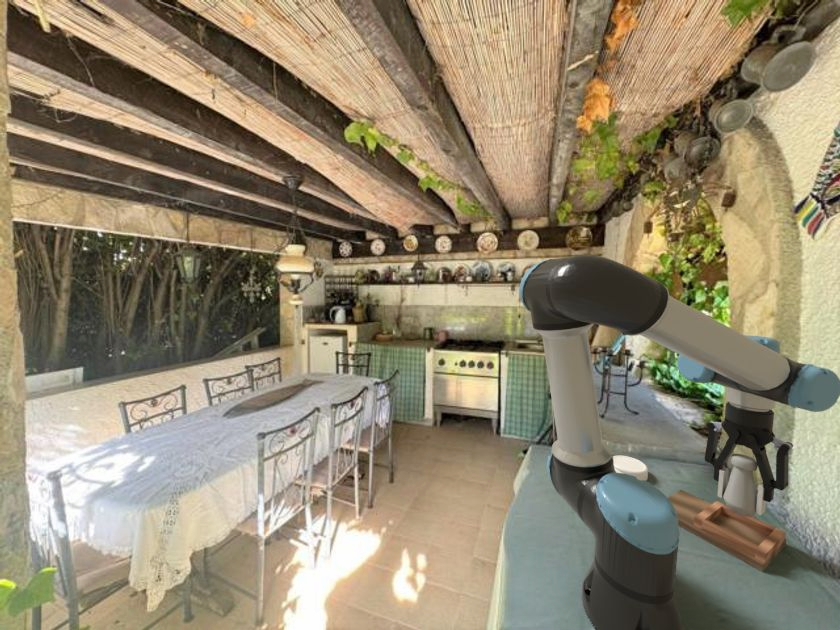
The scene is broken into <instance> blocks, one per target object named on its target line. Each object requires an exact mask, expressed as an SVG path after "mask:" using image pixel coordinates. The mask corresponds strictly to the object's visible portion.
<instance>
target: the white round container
mask: <svg viewBox="0 0 840 630" xmlns="http://www.w3.org/2000/svg"><path fill="white" fill-rule="evenodd" d="M613 462H614V469H615V471H616V473H623V474H628V475H632V476H635V477H636V478H637V479H638V480H644V481H646V482H647V481H648V478H649V477H648V475H649V468H648V466H647V465H646V464H645V463H644V462H642V461H641V460H639V459H637V458H634V457H632V456H627V455H614V456H613Z"/></svg>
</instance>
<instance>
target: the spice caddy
mask: <svg viewBox="0 0 840 630" xmlns="http://www.w3.org/2000/svg"><path fill="white" fill-rule="evenodd" d="M667 498H668V499H669V500H670V501H671V503H672V504H673V506H674V508H675V510H676V512H677V516H678V527H679V528H683V529H684V530H686V531H688V532H689V533H691V534H693V535H695V536H697V537H699V538H700V539H702V540H703V541H706V542H707V543H709V544H711V545H713V546H715V547H717V549H718V548H719V549H720V550H722V551H724V552H726V553H728V554H729V555H732V556H733V557H735V558H736V559H738V560H740V561H742V562H744V563H746V564H748V565H750V566H751V567H752V568H755V569H756V570H758V571H760V572H762V573H763V572H764V571H765V570H766V568H767V567H768V566H769V565H770V564H771V563H772V562H773V561H774V559H775V558H776V557H777V556H778V555H779V554H780V552H781V551H782V550H783V549H784V548H785V547H786V546H785V545H787V538H786V535H787V532H786V531H784V530H782V529H780V528H777V527H775V526H773V525H771V524H768V523H766V522H764V521H762V520H759V519H757V518H756V517H753V516H752V517H743V516H741V515H738V514H736V513H733V512H732V511H731V510H730V509H729V508H728V507H727V506H726V503H725V504H724V502H721V501H718V500H716V501H714V502H713V503H711V502H708V501H706V500H704V499H702V498H700V497H698V496H696V495H693V494H691V493H689V492H687V491H685V490H684V489H683V490H682V489H680V490H678V491H676V492H675V493H673V494H671V495H670V496H667ZM784 546H785V547H784ZM783 547H784V548H783ZM782 548H783V549H782ZM778 553H779V554H778Z"/></svg>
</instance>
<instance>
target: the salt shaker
mask: <svg viewBox="0 0 840 630" xmlns="http://www.w3.org/2000/svg"><path fill="white" fill-rule="evenodd" d="M730 464H731V465H732V466H733V467H732V470H731V472H730V476H728V482H727V486H726V489H725V492H724V494H723V497H722V498H723V500H724V503H725V505H726V506H727V507H728V508H729V509H730V510H731V511H732V512H733V513H736V514H738V515H741V516H743V517H753V516H754V515H755V514H756V506H757V495H758V492H757V488H756V483H755V479H754V478H755V477H754V472H756V471H757V470H758V465H757V461H756V458H753V457H751V456H749V455H745V454H742V453H734V454H731V455H730Z"/></svg>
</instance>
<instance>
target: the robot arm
mask: <svg viewBox="0 0 840 630" xmlns="http://www.w3.org/2000/svg"><path fill="white" fill-rule="evenodd" d="M518 294H519V299H520V302H521V303H522V305H523V306H524V307H525V309H526V310H527V311H529V312H530V317H531V318H530V319H531V324H532V328H533V331H535V332H537V333H538V334H539V335H540V336H541V338H542V343H543V351H544V356H545V364H546V371H547V377H548V384H549V391H550V397H551V403H552V410H553V416H554V417H553V418H554V424H555V430H556V431H555V432H556V438H557V439H556V440H555V441H554V442H553V444H552V446H551V451H550V452H551V454H550V455H548V456H547V460H546V461H547V462H546V471H547V476H548V478H549V481H550V482H551V484H552V486H553V488H554V489H555V491H556V493H558V494H559V496H561V497H562V499H563V500H564V501H565V503H566V504H567V505H568V506H569V507H570V508H571V509H572V510H573V511H574V513H575V514H576V515H577V516H578V518H580V520H581V521H582V522H583V523H584V525H586V527H587V528H588V529H589V531H590V532H591V533H592V534H593V536H594V557H593V558H594V560H593V561H592V563H591V566H590V567H589V569H588V571H587V573H586V574H585V577H584V579H583V582H582V587H581V589H582V590H581V603H582V602H583V603H582V606H584V607H583V610H584V609H585V610H584V612H585V611H586V613H585V615H586V614H587V615H586V617H587V616H588V617H587V619H588V618H589V619H590V620H589V619H588V620H589V622H590V621H591V622H592V623H591V622H590V623H591V625H592V624H593V625H592V626H593V627H594V626H595V628H596V629H597V630H685V626H684V622H683V619H682V616H681V613H680V609H679V606H678V603H677V599H676V597H675V584H676V583H675V582H676V575H677V574H676V572H677V564H678V563H677V561H678V553H679V552H678V551H679V543H680V535H681V534H680V529H679V528H680V527H679V525H678V516H677V512H676V510H675V508H674V506H673V504H672V503H671V501H670V500H669V499H668V496H667V495H666V494H665V493H663V492H662V491H661V490H660V489H659V488H658V487H656V486H655V485H653V484H652V483H650V482H649V481H647V480H646V481H644V480H638V479H637V478H636V477H635V476H632V475H628V474H623V473H616V471H615V469H614V462H613V451H612V447H611V446H610V445H609V444H608V443H607V442H605V441H603V437H602V436H603V435H602V429H601V422H600V413H599V406H598V400H597V391H596V383H595V377H594V371H593V370H594V368H593V362H592V355H591V347H590V346H591V345H590V340H589V330H590V329H591V328H592V327H593V326H594V325H598V326H603V327H606V328H609V329H612V330H616V331H617V332H619V333H622V334H623V335H627V336H630V337H631V336H632V337H633V336H639V335H640V336H642V337H643V338H646V339H648V340H650V341H652V342H653V343H656V344H658V345H660V346H662V347H664V348H666V349H668V350H669V351H672V352H675V353H676V354H678V357H677V363H676V365H677V369H678V371H679V374H680V375H681V376H682V377H683V378H684V379H685V380H687V381H688V382H691V383H696V384H697V383H698V384H716V385H719V386H722V387H726V394H725V395H726V397H725V399H726V401H727V402H726V403H725V409H724V420H722V422H720V421H719V422H718V421H716V420H711V421H708V422H707V423H706V427H707V431H708V433H707V435H708V436H707V441H706V447H705V454H704V462H706V463H710V464H711V465H712V466H713V468H714V469H713V480H714V481H716V482H718V483H717V484H718V485H717V497H718V498H719V499H722V498H723V494H724V492H725V489H726V486H727V483H728V480H729V468H728V467H726V464H727V462H728V460H729V459H730V458H731V456H732V455H733V454H732V453H733V452H734V451H735V448H736V447H737V445H738V446H743V447H745V448H747V449H750V450H751V452H752V455H754V459H755V460H756V462H757V465H758V467H757V469H758V472H759V474H760V478H761V480H762V482H761V483H760V484H758V485H757V486H758V488H757V506H756V513H755V514H756V515H758V516H762V515H763V514H764V513H766V507H767V506H766V505H767V503H771V502H772V501H773V500H774V498H775V497H774V495H775V489H776V490H779V491H784V490H785V489H786V488H788V486H789V467H790V466H789V463H790V461H789V459H790V458H789V455H790V454H789V453H790V452H791V451H792V449H793V448H794V445H793V443H791V442H790V441H784V440H781V439H780V438H777V437H776V435H775V434H774V431H773V428H774V419H775V417H774V416H775V412H774V411H773V410H774V409H775V407H776V403H780V404H783V405H786V406H790V408H792V409H793V408H796V409H801V410H806V411H808V412H814V413H818V412H819V413H820V412H824V411H828V410H830V409H831V408H832V407H833V406H835V404H836V403H837V402H838V399H839V398H840V377H839V376H838V374H836V373H835V372H834V371H832V370H831V369H828V368H824V367H821V366H817V365H814V364H812V363H801V362H798V361H795V360H793V359H791V358H789V357H787V356H785V355H783V354H781V353H780V352H781V348H780V345H781V343H780V342H779V341H778V340H777V339H775V338H772V337H768V336H761V335H759V336H758V335H746V334H743V333H741V332H739V331H737V330H736V329H734V328H732V327H729V326H728V325H726V324H723V323H721V322H720V321H719V320H716V319H714V318H712V317H710V316H709V315H707V314H704V313H703V312H701V311H699V310H697V309H695V308H693V307H692V306H689V305H688V304H685V303H684V302H682V301H680V300H678V299H676V298H674V297H673V296H671V295H670V290H669V289H668V288H667V287H666V285H664V284H663V283H661V282H659V281H657V280H655V279H653V278H651V277H650V276H648V275H646V274H644V273H642V272H640V271H638V270H636V269H633V268H631V267H630V266H627V265H626V264H623V263H620V262H619V261H617V260H616V261H615V260H613V259H610V258H608V257H605V256H604V257H603V256H600V255H596V254H587V253H586V254H578V255H573V256H568V257H560V258H549V259H547V260H546V259H545V260H543V261H541V262H538V263H536V264H534V265H532V266H531V267H530V268H528V270H527V271H526V272H525V273H524V275H523V277H522V279H521V280H520V284H519V293H518ZM722 429H723V430H724V432H725V433H726V435H727V436H728V437H727V438H728V439H727V440H726V442H725V445H724V447H723V448H722V450H721V451H720V453H719V455H718V456H717V451H718V443H719V438H720V432H721V431H722ZM770 443H772V444H773V445H774V449H775V450H776V451H777V452H776V455H775V457H776V458H775V461H776V463H775V477H774V473H773V471H772V467H771V464H770V461H769V457H768V454H767V448H766V446H767V445H768V444H770ZM716 456H717V457H716ZM595 628H594V629H595ZM596 629H595V630H596Z"/></svg>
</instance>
